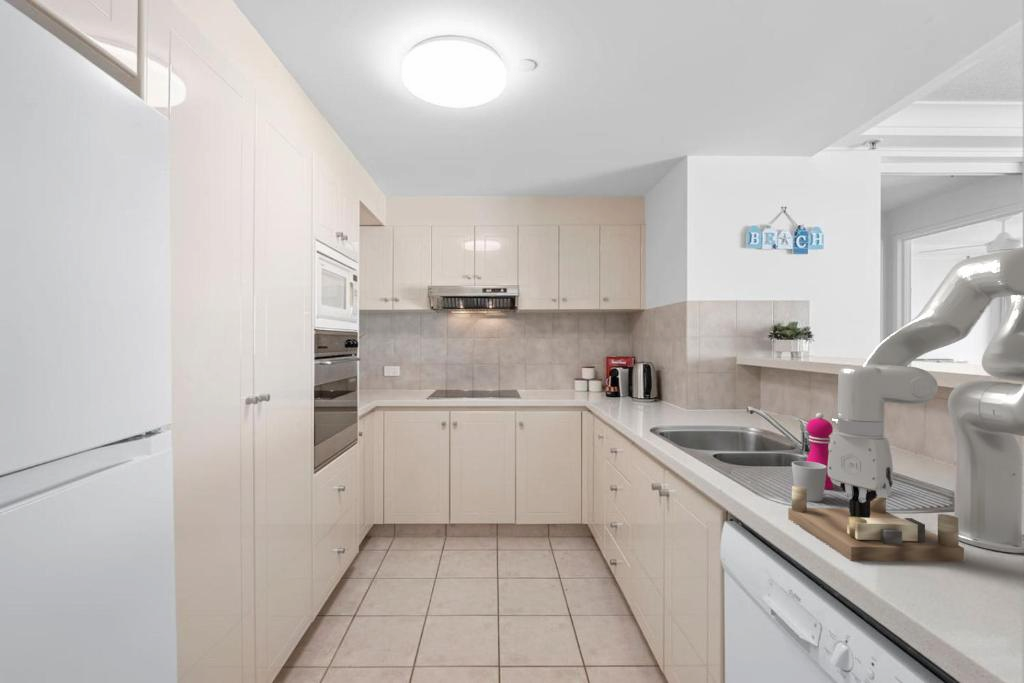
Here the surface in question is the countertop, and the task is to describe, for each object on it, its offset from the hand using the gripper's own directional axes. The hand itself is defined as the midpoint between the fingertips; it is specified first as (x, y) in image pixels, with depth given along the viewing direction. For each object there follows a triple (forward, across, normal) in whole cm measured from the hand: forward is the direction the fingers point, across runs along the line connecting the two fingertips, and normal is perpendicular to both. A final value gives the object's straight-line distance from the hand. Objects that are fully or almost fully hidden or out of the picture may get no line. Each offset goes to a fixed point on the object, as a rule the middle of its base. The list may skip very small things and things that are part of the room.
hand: (859, 519), depth 95 cm
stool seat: (+4, 0, +2) cm, 4 cm away
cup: (+4, -21, +15) cm, 27 cm away
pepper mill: (+4, -26, +27) cm, 38 cm away
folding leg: (+1, +6, -2) cm, 6 cm away
